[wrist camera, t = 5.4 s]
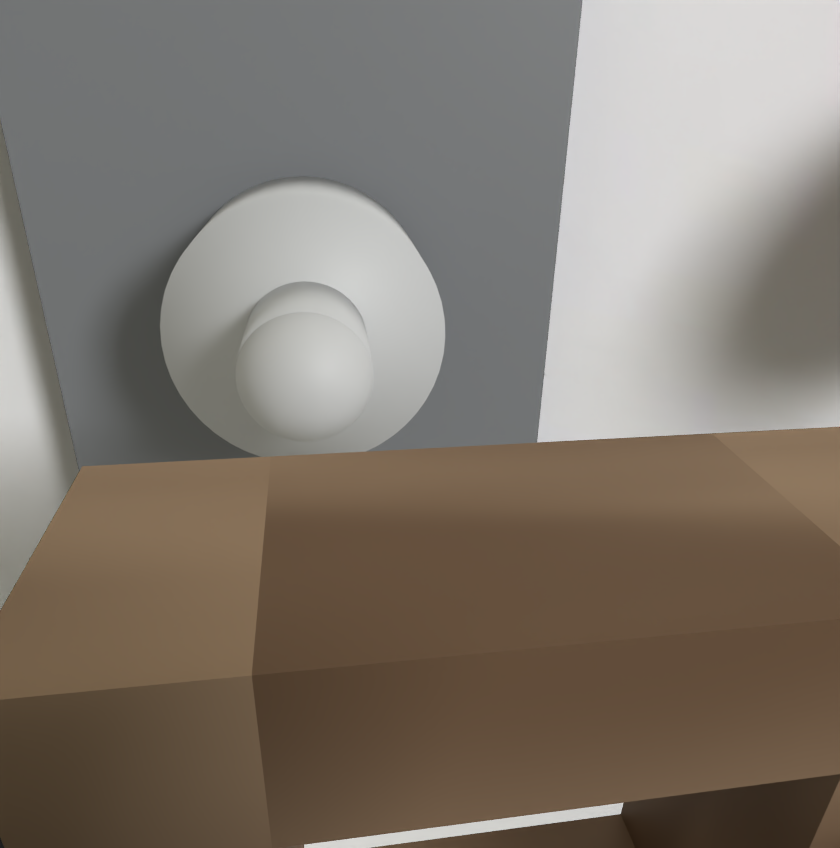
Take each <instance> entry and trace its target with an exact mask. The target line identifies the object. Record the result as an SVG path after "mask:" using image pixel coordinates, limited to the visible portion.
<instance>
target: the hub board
mask: <svg viewBox="0 0 840 848" xmlns="http://www.w3.org/2000/svg"><path fill="white" fill-rule="evenodd" d="M581 8H582V0H0V120H1V125H2V129H3V133H4V138H5V142H6V147H7V151H8V156H9V160H10V165H11V169H12V174H13V178H14V183H15V187H16V191H17V196H18V200H19V205H20V209H21V214H22V218H23V223H24V227H25V232H26V236H27V241H28V245H29V250H30V254H31V258H32V263H33V267H34V272H35V276H36V281H37V285H38V290H39V294H40V299H41V303H42V308H43V312H44V316H45V321H46V325H47V330H48V334H49V339H50V343H51V348H52V352H53V357H54V361H55V366H56V370H57V374H58V379H59V383H60V388H61V392H62V397H63V401H64V406H65V410H66V415H67V419H68V424H69V428H70V432H71V437H72V441H73V446H74V450H75V455H76V459H77V464H78V468H79V471H80V469H81V468H82V466H98V465H118V464H137V463H156V462H175V461H194V460H213V459H233V458H252V457H271V456H290V455H309V454H329V453H348V452H367V451H386V450H405V449H425V448H444V447H463V446H482V445H501V444H521V443H537V437H538V427H539V418H540V408H541V398H542V388H543V379H544V369H545V359H546V349H547V340H548V330H549V320H550V310H551V301H552V291H553V281H554V271H555V262H556V252H557V242H558V232H559V223H560V213H561V203H562V193H563V184H564V174H565V164H566V154H567V145H568V135H569V125H570V116H571V106H572V96H573V86H574V77H575V67H576V57H577V47H578V38H579V28H580V18H581Z"/></svg>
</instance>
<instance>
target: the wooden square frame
mask: <svg viewBox="0 0 840 848" xmlns="http://www.w3.org/2000/svg"><path fill="white" fill-rule="evenodd" d="M623 802H624V803H623ZM616 803H623V808H622V812H621V814H619V815H612V816H604V817H597V818H589V819H582V820H574V821H567V822H560V823H552V824H545V825H537V826H530V827H522V828H515V829H507V830H500V831H492V832H485V833H477V834H470V835H463V836H455V837H448V838H440V839H433V840H425V841H418V842H410V843H403V844H395V845H388V846H380V847H373V848H840V427H828V428H808V429H789V430H770V431H751V432H732V433H712V434H693V435H674V436H655V437H636V438H617V439H597V440H578V441H559V442H540V443H521V444H501V445H482V446H463V447H444V448H425V449H405V450H386V451H367V452H348V453H329V454H309V455H290V456H271V457H252V458H233V459H213V460H194V461H175V462H156V463H137V464H118V465H98V466H82V468H81V469H80V471H79V473H78V475H77V477H76V478H75V480H74V482H73V484H72V485H71V487H70V489H69V491H68V492H67V494H66V496H65V498H64V499H63V501H62V503H61V505H60V507H59V508H58V510H57V512H56V514H55V515H54V517H53V519H52V521H51V522H50V524H49V526H48V528H47V529H46V531H45V533H44V535H43V536H42V538H41V540H40V542H39V544H38V545H37V547H36V549H35V551H34V552H33V554H32V556H31V558H30V559H29V561H28V563H27V565H26V566H25V568H24V570H23V572H22V574H21V575H20V577H19V579H18V581H17V582H16V584H15V586H14V588H13V589H12V591H11V593H10V595H9V596H8V598H7V600H6V602H5V604H4V605H3V607H2V609H1V611H0V838H1V841H2V843H3V846H4V848H304V844H311V843H319V842H327V841H334V840H342V839H349V838H357V837H365V836H372V835H380V834H387V833H395V832H403V831H410V830H418V829H425V828H433V827H441V826H448V825H456V824H464V823H471V822H479V821H486V820H494V819H502V818H509V817H517V816H524V815H532V814H540V813H547V812H555V811H562V810H570V809H578V808H585V807H593V806H600V805H608V804H616Z"/></svg>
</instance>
